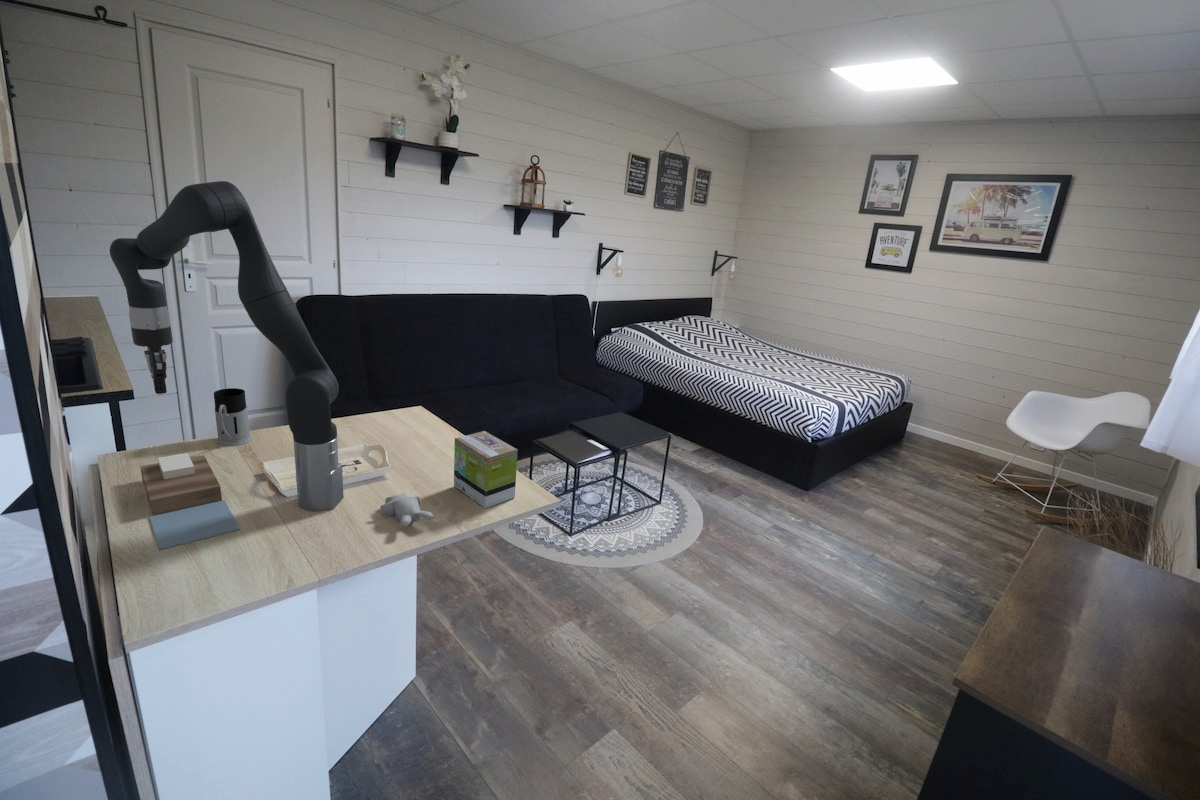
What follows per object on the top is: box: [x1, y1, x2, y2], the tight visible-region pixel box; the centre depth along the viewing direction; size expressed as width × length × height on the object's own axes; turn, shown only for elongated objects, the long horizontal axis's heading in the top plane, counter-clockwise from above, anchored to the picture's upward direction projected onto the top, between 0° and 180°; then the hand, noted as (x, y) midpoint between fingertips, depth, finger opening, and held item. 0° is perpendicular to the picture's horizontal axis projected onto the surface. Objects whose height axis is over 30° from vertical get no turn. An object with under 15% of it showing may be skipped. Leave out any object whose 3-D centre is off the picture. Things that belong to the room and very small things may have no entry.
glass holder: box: [213, 387, 253, 447], centre depth 158 cm, size 9×14×15 cm, turn 18°
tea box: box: [453, 430, 519, 509], centre depth 147 cm, size 15×10×15 cm
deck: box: [140, 455, 223, 516], centre depth 134 cm, size 20×13×4 cm, turn 43°
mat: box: [149, 499, 240, 551], centre depth 122 cm, size 15×14×1 cm
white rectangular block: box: [157, 452, 195, 479], centre depth 136 cm, size 9×6×2 cm, turn 43°
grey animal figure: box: [379, 492, 434, 528], centre depth 132 cm, size 10×5×15 cm
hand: (161, 392), depth 138 cm, fingers closed
